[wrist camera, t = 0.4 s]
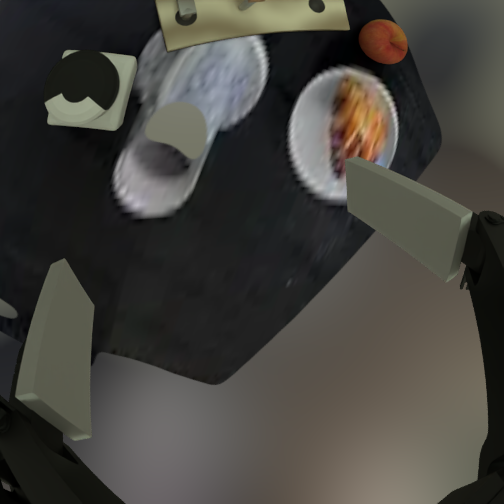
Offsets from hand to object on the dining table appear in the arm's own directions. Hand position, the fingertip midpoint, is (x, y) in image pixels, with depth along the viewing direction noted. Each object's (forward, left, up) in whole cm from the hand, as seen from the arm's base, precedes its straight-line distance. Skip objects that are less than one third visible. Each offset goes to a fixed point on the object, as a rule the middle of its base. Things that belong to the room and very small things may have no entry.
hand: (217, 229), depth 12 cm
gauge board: (-18, +16, -27) cm, 36 cm away
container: (-9, -6, -27) cm, 29 cm away
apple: (-9, +33, -27) cm, 43 cm away
